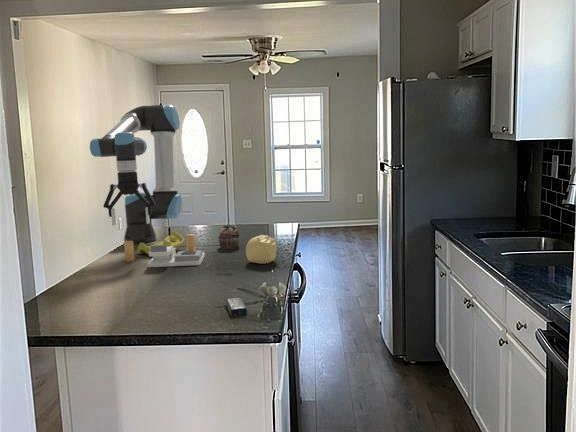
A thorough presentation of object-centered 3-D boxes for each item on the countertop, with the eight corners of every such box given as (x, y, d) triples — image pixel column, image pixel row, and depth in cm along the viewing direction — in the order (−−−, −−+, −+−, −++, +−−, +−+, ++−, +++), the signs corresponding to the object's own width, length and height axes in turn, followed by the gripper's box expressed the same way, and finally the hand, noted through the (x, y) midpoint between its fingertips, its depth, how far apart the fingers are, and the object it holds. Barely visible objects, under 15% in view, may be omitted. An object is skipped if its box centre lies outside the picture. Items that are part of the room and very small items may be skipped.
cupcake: (242, 245, 251) (240, 223, 250) (238, 249, 242) (236, 226, 240) (221, 245, 252) (220, 223, 251) (216, 249, 243) (215, 227, 241)
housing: (156, 258, 230) (154, 235, 229) (204, 255, 231) (203, 233, 229) (147, 267, 215) (145, 242, 213) (199, 264, 215) (198, 240, 214)
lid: (154, 251, 222) (153, 241, 221) (173, 250, 222) (172, 240, 221) (149, 256, 212) (148, 246, 211) (168, 255, 212) (167, 245, 212)
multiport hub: (241, 304, 164) (240, 297, 164) (247, 316, 153) (246, 307, 153) (226, 306, 163) (225, 298, 163) (231, 317, 152) (230, 309, 152)
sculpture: (273, 266, 209) (272, 237, 207) (243, 265, 211) (241, 237, 210) (280, 259, 220) (279, 232, 218) (251, 258, 222) (249, 232, 221)
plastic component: (154, 252, 231) (138, 240, 235) (151, 267, 234) (135, 254, 238) (188, 240, 246) (173, 229, 251) (185, 254, 250) (170, 243, 254)
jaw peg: (126, 260, 229) (125, 240, 228) (135, 259, 229) (134, 240, 228) (124, 261, 225) (122, 242, 224) (133, 261, 225) (131, 242, 224)
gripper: (92, 173, 218) (97, 226, 221) (157, 170, 219) (160, 224, 222) (97, 172, 225) (102, 224, 228) (160, 169, 227) (163, 221, 229)
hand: (131, 224), depth 225 cm, fingers open, 13 cm apart
